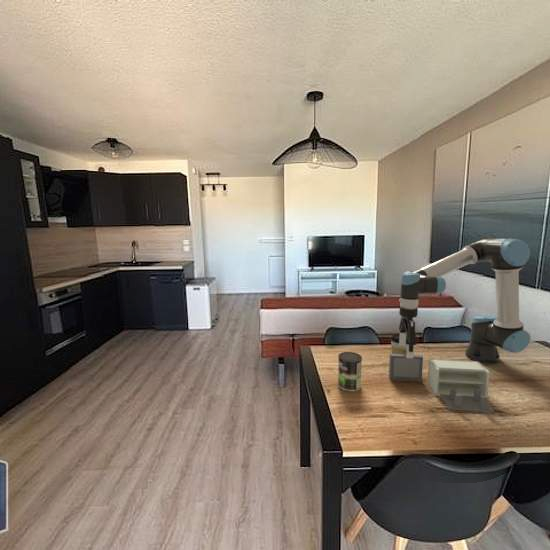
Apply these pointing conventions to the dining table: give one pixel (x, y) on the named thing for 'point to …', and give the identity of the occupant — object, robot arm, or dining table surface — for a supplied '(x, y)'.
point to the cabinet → (460, 384)
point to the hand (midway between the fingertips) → (405, 351)
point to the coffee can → (349, 371)
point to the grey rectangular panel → (405, 367)
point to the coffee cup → (395, 345)
